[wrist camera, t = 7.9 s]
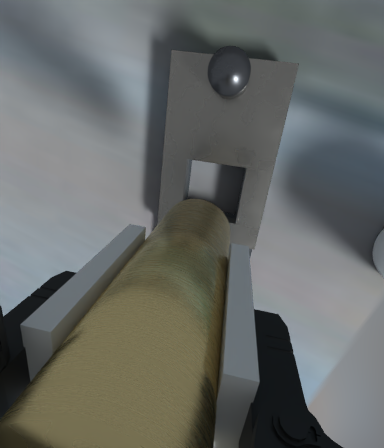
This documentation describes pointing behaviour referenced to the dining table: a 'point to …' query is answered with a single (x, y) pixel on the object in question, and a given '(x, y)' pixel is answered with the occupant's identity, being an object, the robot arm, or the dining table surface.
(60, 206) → the dining table surface
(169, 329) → the toggle switch lever
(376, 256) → the candle holder
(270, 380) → the robot arm
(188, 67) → the toggle switch plate
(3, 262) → the dining table surface
